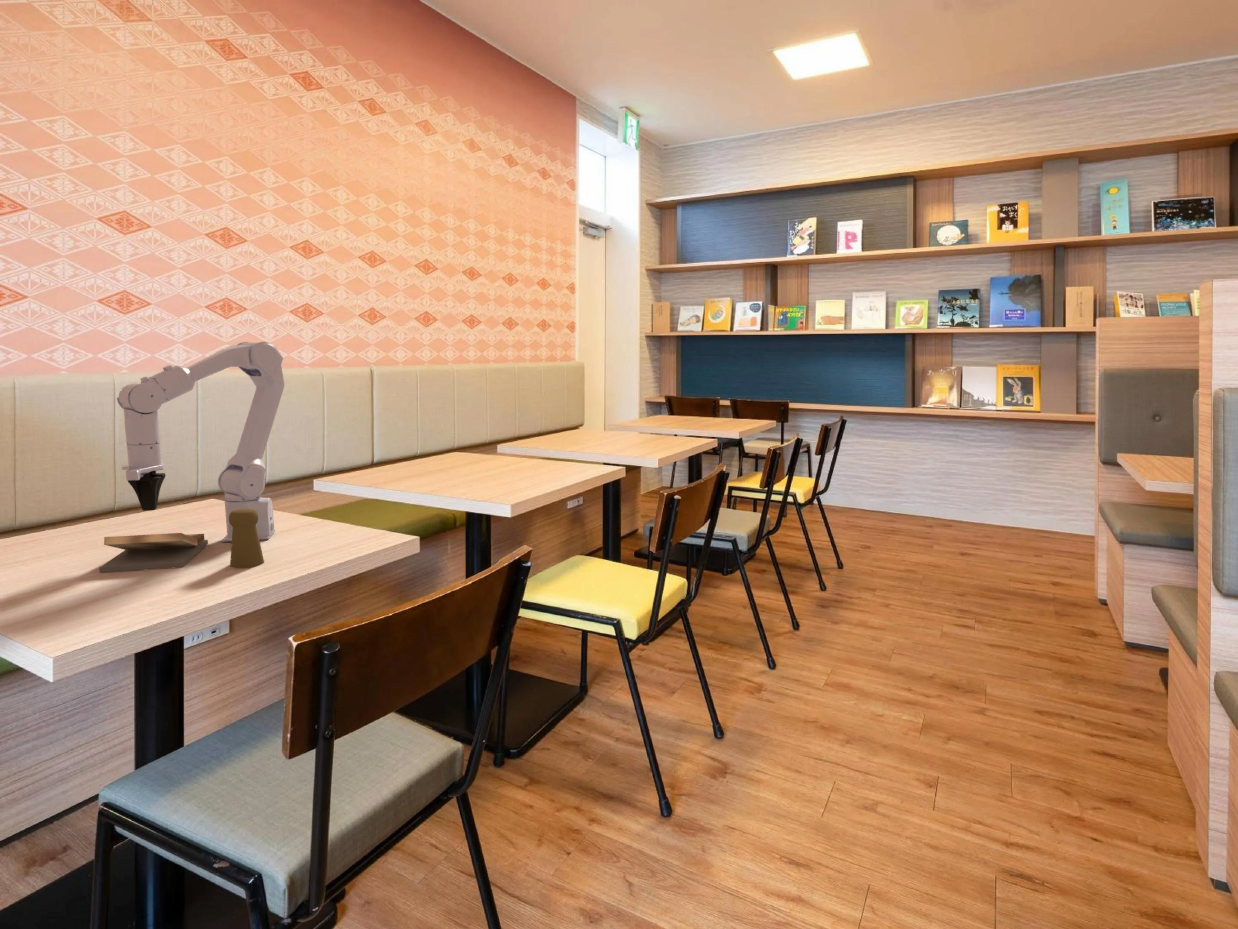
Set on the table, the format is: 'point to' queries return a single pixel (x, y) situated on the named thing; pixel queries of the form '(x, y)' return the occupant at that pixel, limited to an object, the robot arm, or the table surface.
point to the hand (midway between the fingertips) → (149, 509)
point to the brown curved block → (198, 537)
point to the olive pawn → (245, 539)
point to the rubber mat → (152, 558)
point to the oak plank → (151, 541)
